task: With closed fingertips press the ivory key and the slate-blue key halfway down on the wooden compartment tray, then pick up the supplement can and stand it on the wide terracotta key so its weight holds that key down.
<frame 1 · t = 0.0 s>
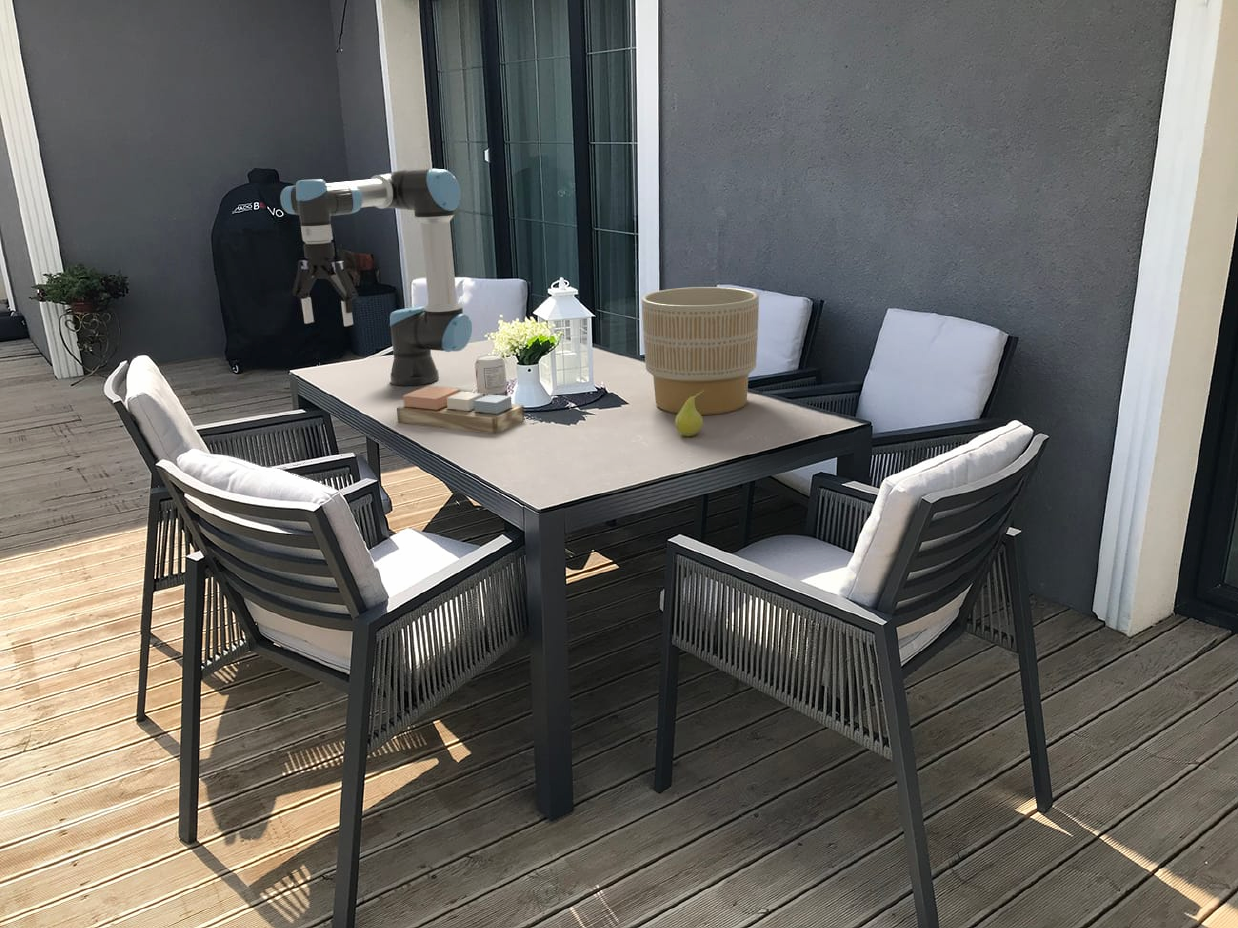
hand: (328, 324, 263), 28 cm above the table, fingers open, 13 cm apart
key ivory: (465, 403, 269), point 5 cm above the table, slide at 0.0 cm
planter: (701, 404, 280), on the table
wooden compartment tray: (461, 420, 272), on the table
supplement can: (493, 410, 282), on the table
fruit: (690, 436, 251), on the table
key slate: (493, 406, 265), point 5 cm above the table, slide at 0.0 cm
key terracotta: (432, 400, 274), point 5 cm above the table, slide at 0.0 cm
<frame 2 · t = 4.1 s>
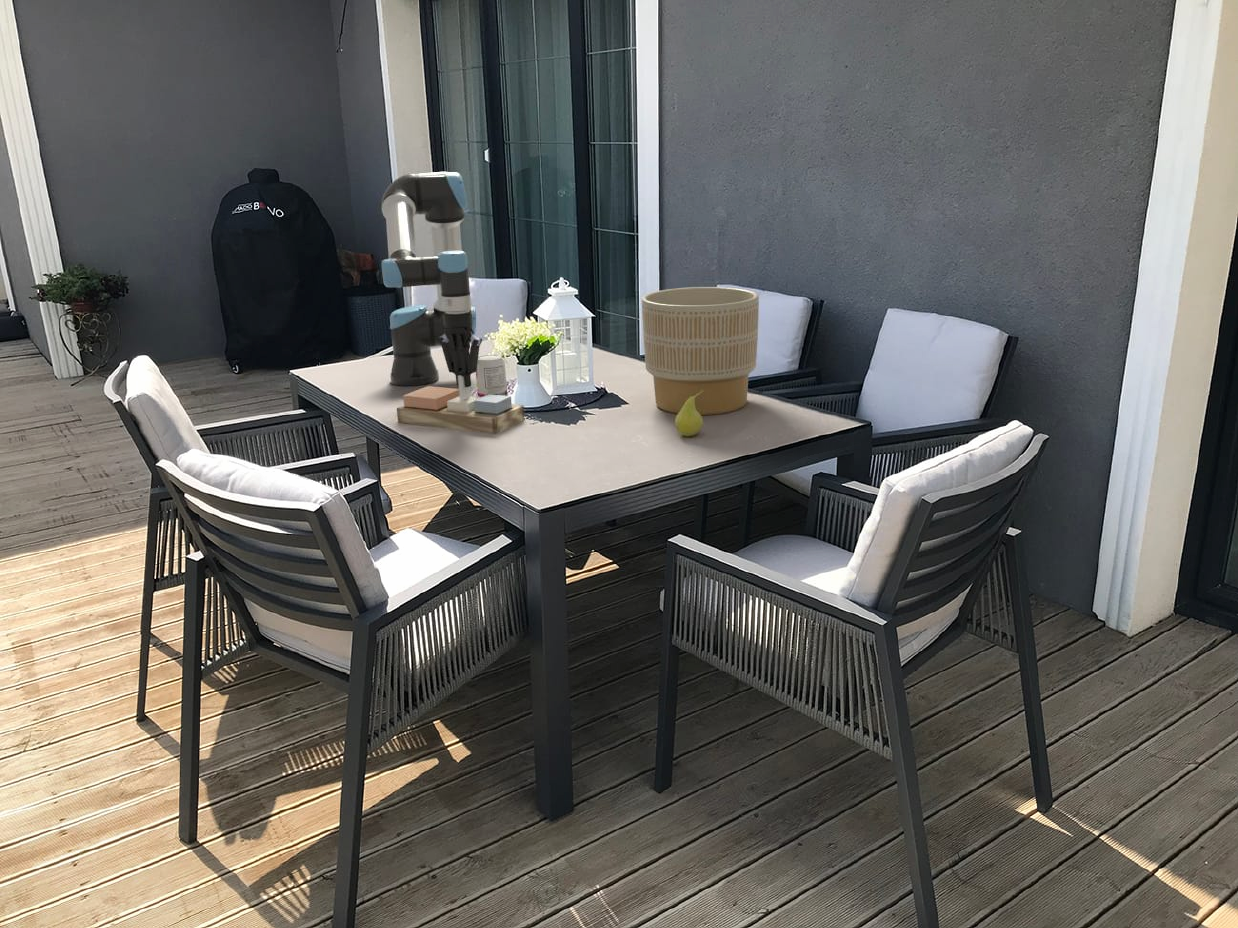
hand: (465, 398, 269), 7 cm above the table, fingers closed
key ivory: (465, 407, 270), point 4 cm above the table, slide at 1.0 cm, touching gripper
everything else where it was.
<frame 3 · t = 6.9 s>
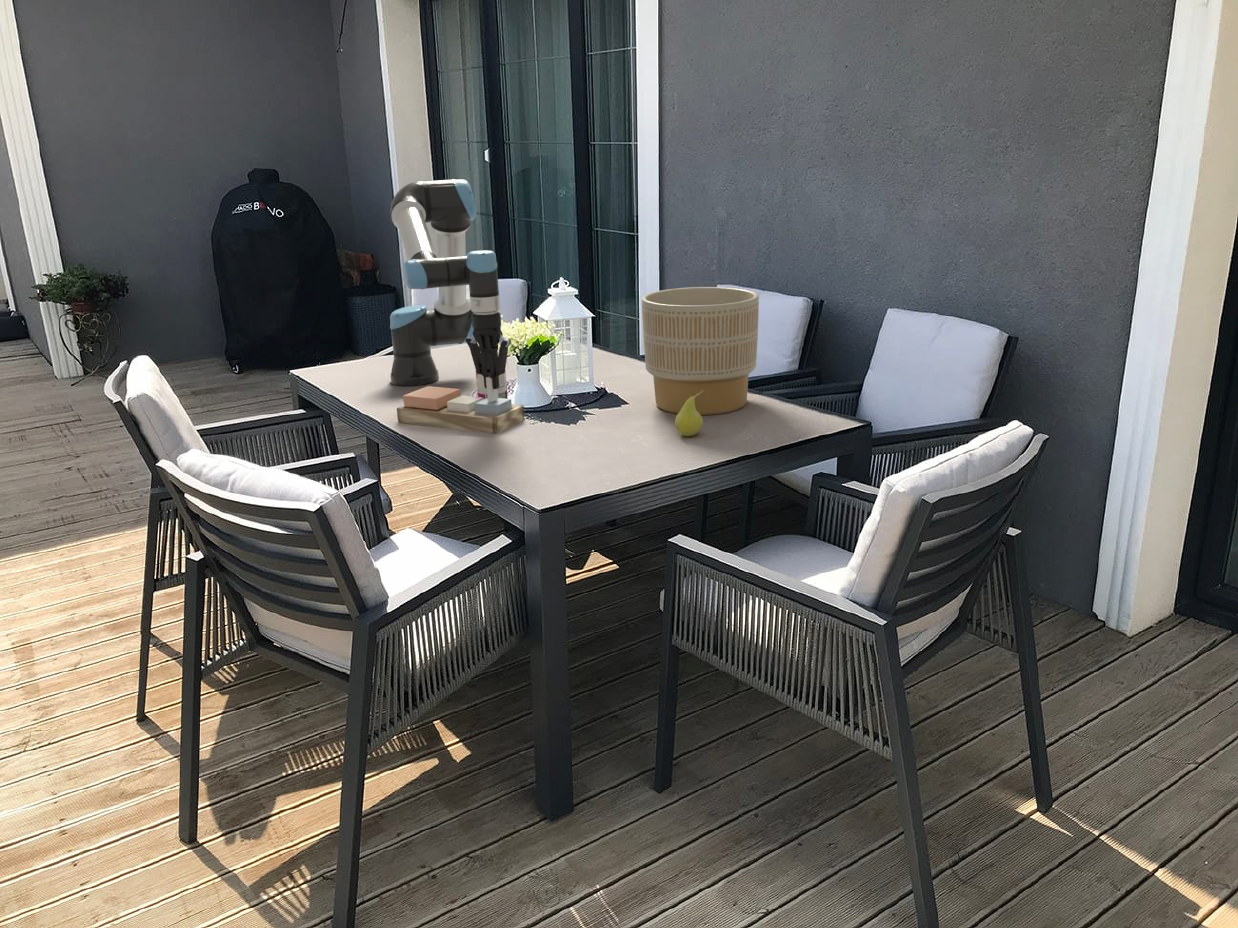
hand: (492, 400, 265), 7 cm above the table, fingers closed
key ivory: (465, 407, 270), point 4 cm above the table, slide at 1.1 cm
key slate: (493, 409, 266), point 4 cm above the table, slide at 0.8 cm, touching gripper
everything else where it was.
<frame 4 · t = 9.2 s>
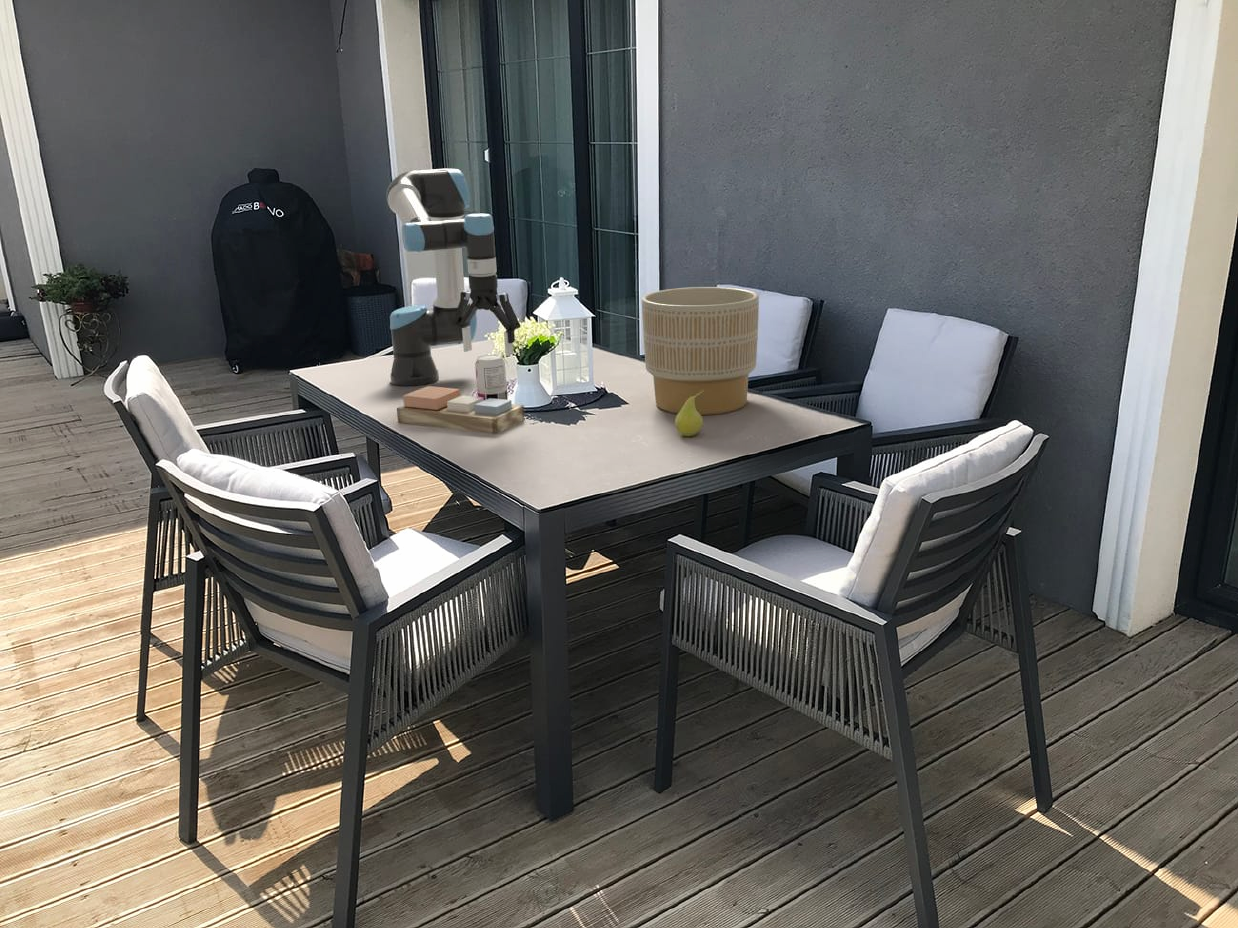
hand: (488, 352, 271), 18 cm above the table, fingers open, 13 cm apart
key slate: (493, 410, 266), point 4 cm above the table, slide at 1.1 cm
everything else where it was.
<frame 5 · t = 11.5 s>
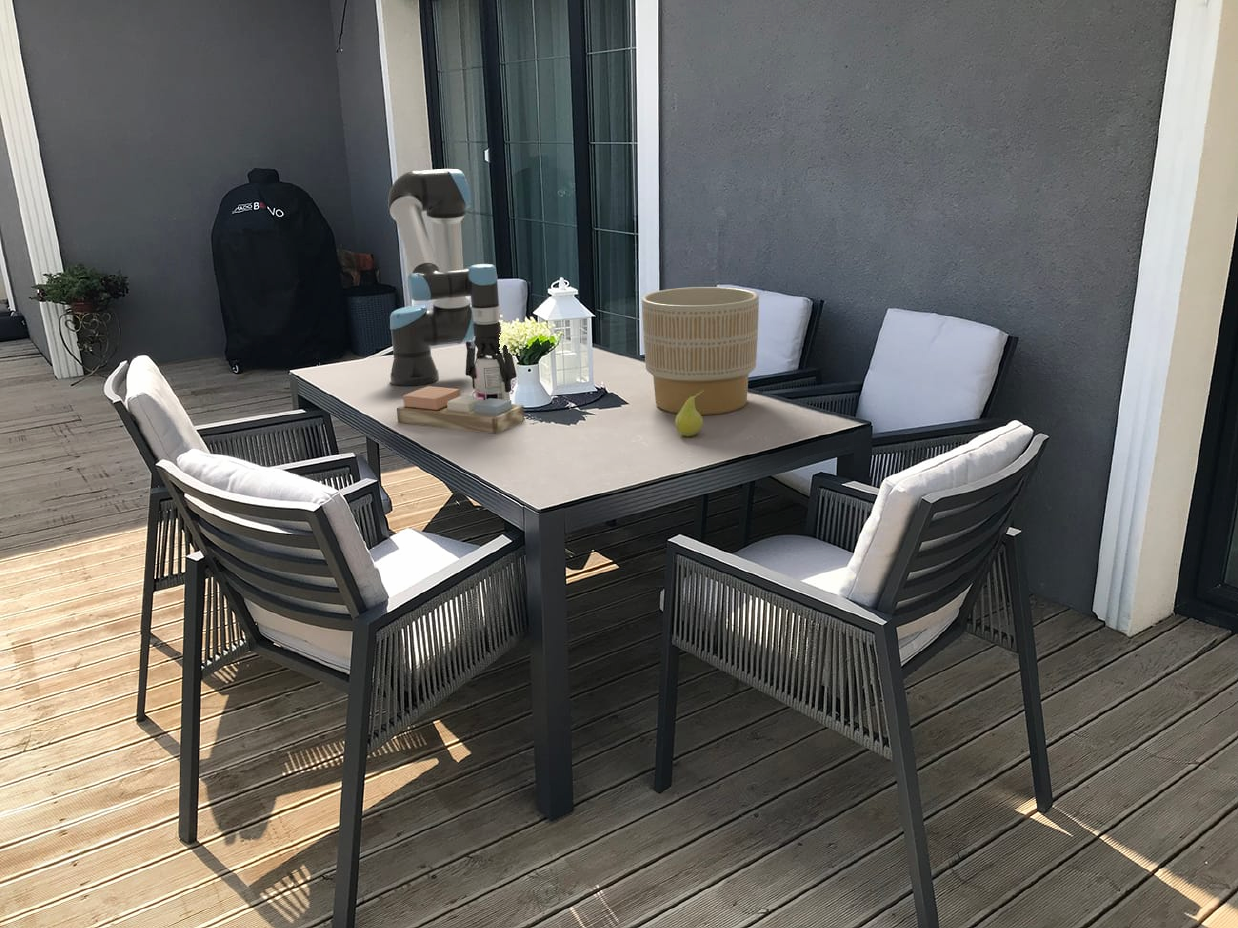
hand: (493, 401, 281), 2 cm above the table, fingers closed on supplement can, 8 cm apart
supplement can: (493, 410, 282), on the table, touching gripper
everything else where it was.
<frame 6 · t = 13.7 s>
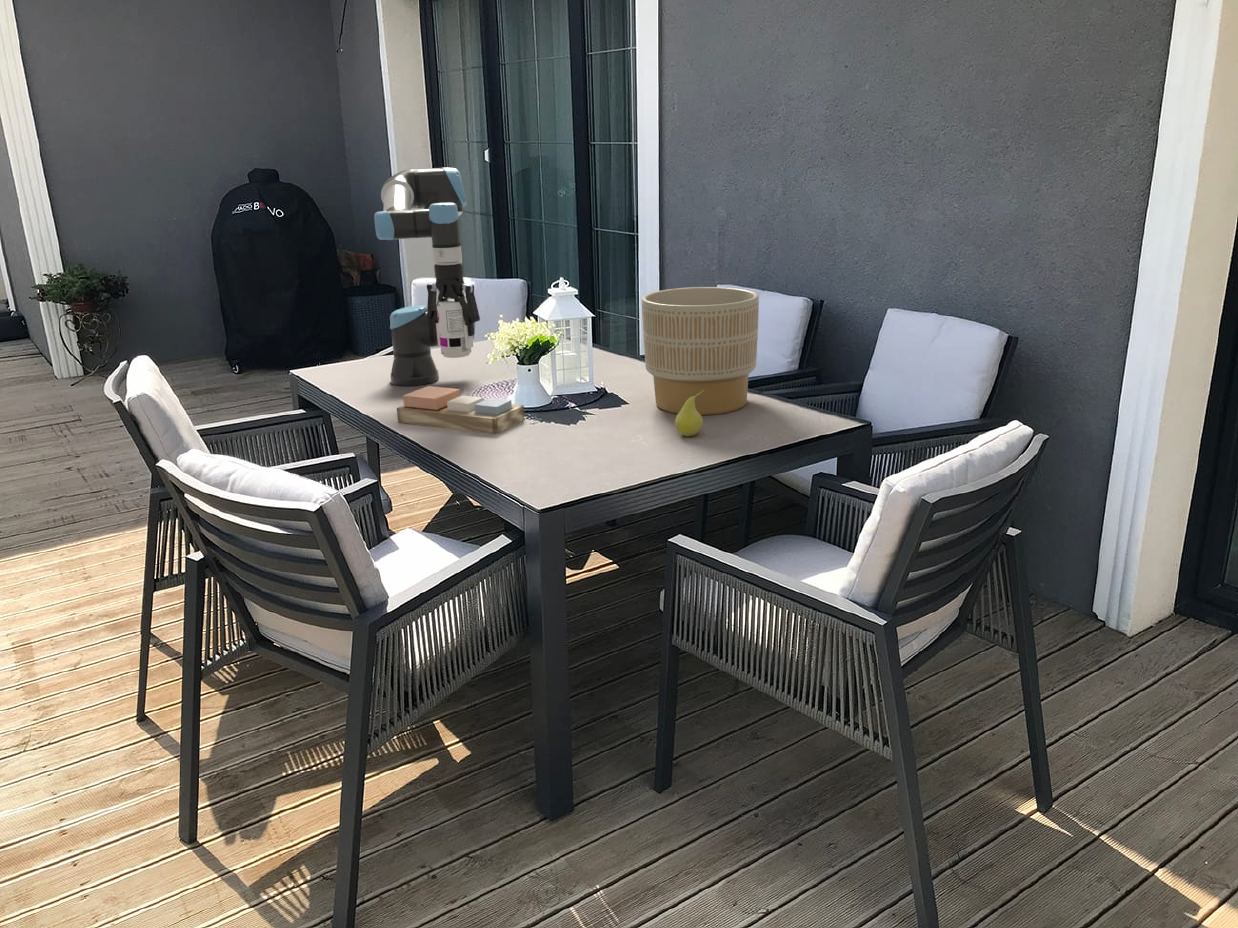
hand: (455, 346, 272), 19 cm above the table, fingers closed on supplement can, 8 cm apart
supplement can: (456, 355, 273), point 17 cm above the table, touching gripper
everything else where it was.
when the fingers open (11 cm above the table, at t = 16.0 s): supplement can drops 4 cm, resting on key terracotta.
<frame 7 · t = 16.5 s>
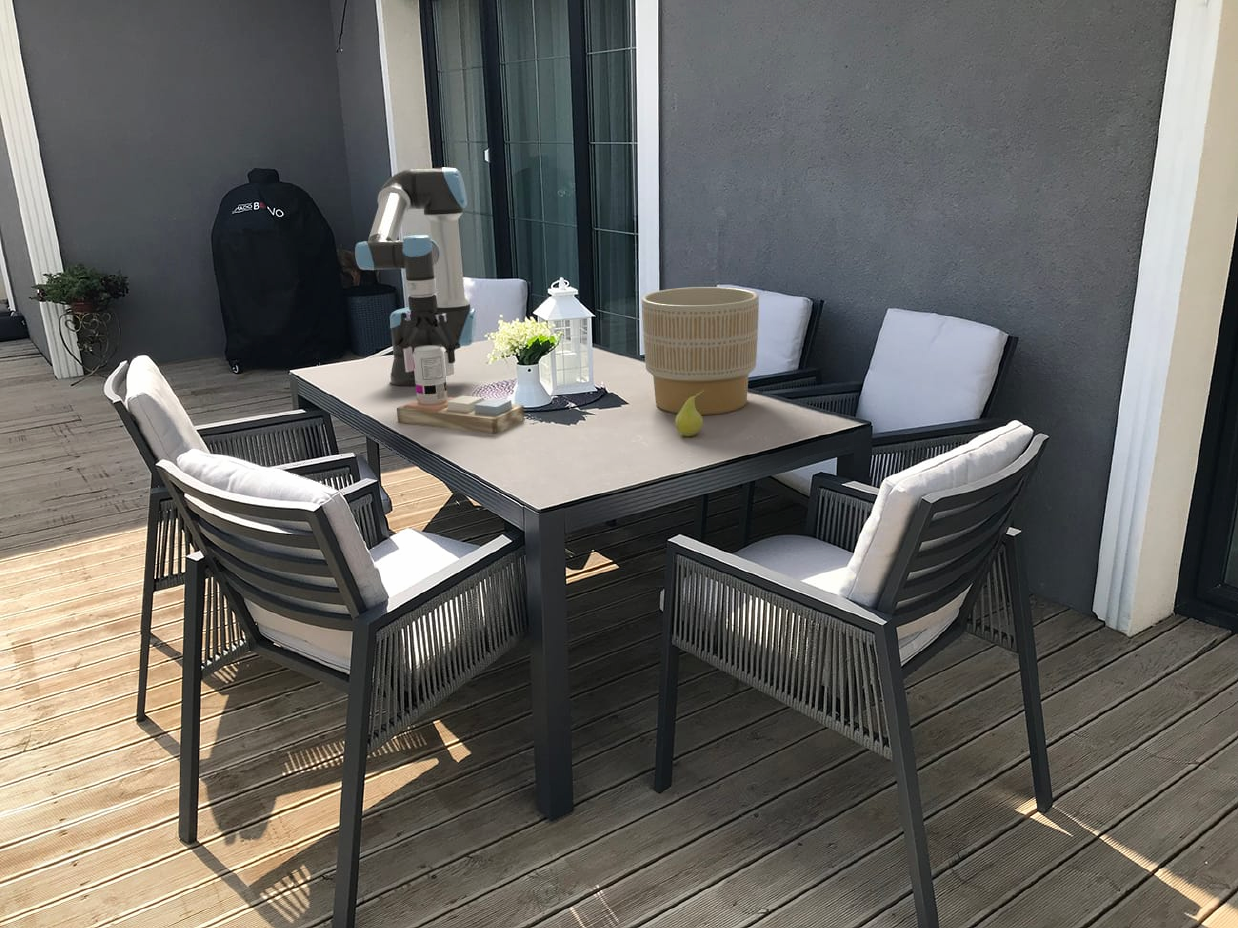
hand: (429, 373, 272), 13 cm above the table, fingers open, 13 cm apart
supplement can: (432, 402, 274), point 4 cm above the table, touching key terracotta
key terracotta: (433, 409, 275), point 2 cm above the table, slide at 2.6 cm, touching supplement can
everything else where it was.
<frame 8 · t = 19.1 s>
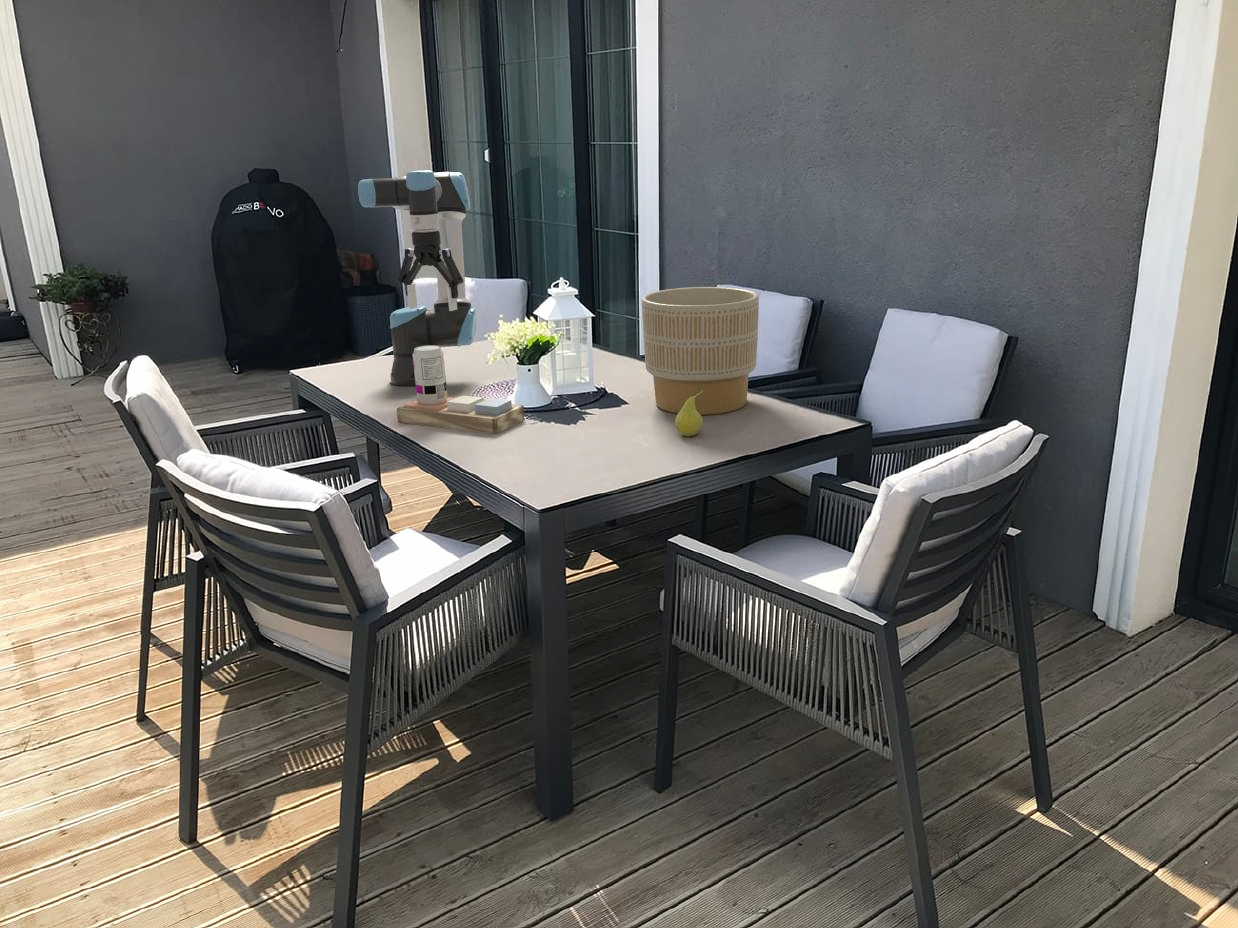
hand: (433, 309, 275), 29 cm above the table, fingers open, 13 cm apart
nothing on the table moved.
at the end: supplement can inside the target area (0.0 cm from its centre), point 4.5 cm above the table; key terracotta slide at 2.6 cm; key ivory slide at 1.1 cm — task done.
